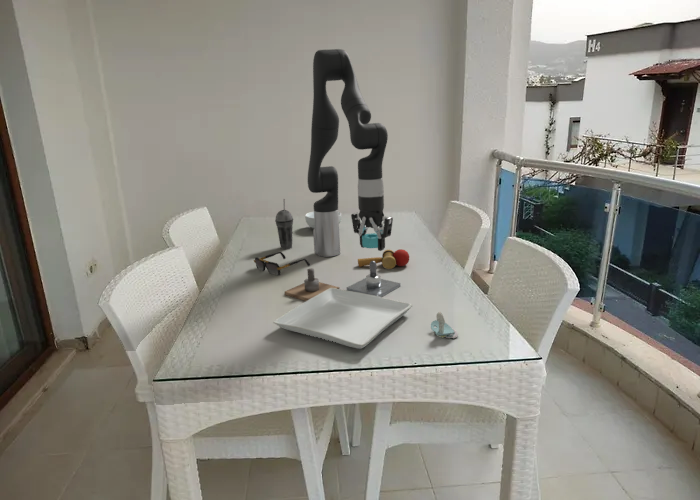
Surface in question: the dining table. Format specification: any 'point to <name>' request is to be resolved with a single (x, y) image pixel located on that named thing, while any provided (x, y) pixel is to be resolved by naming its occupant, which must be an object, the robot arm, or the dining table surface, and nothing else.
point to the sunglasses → (273, 264)
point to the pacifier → (443, 327)
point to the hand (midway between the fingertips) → (372, 248)
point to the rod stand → (309, 288)
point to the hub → (374, 284)
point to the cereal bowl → (310, 219)
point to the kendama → (388, 259)
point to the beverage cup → (284, 228)
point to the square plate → (344, 317)
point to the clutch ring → (370, 240)
